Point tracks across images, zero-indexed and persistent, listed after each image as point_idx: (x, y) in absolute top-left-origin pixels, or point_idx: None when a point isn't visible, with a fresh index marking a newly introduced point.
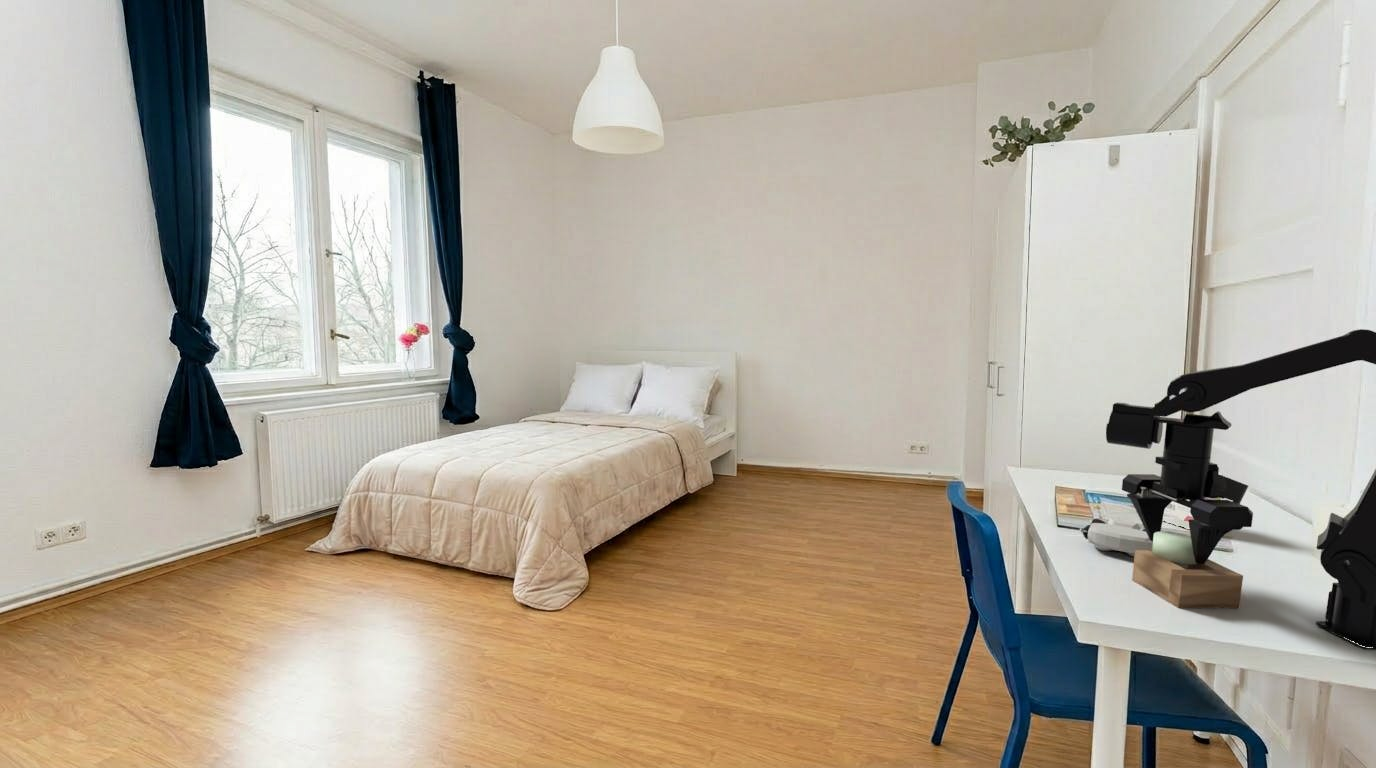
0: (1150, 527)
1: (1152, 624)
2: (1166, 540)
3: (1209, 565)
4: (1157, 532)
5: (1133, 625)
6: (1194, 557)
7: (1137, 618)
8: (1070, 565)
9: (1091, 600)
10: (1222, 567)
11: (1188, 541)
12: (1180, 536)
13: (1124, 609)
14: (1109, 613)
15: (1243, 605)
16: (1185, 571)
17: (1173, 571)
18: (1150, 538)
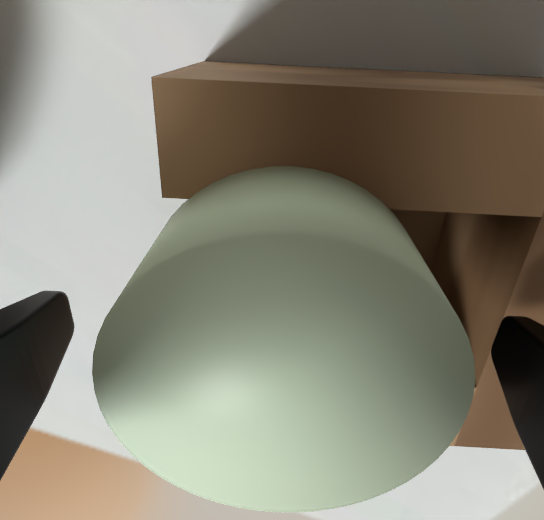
0: (12, 431)
1: (523, 467)
2: (328, 502)
3: (464, 200)
4: (130, 442)
5: (510, 504)
6: (504, 393)
7: (482, 476)
8: (90, 426)
9: (358, 506)
10: (520, 124)
11: (373, 380)
12: (229, 345)
13: (426, 472)
14: (437, 511)
15: (525, 9)
16: (494, 405)
17: (467, 443)
18: (64, 350)
